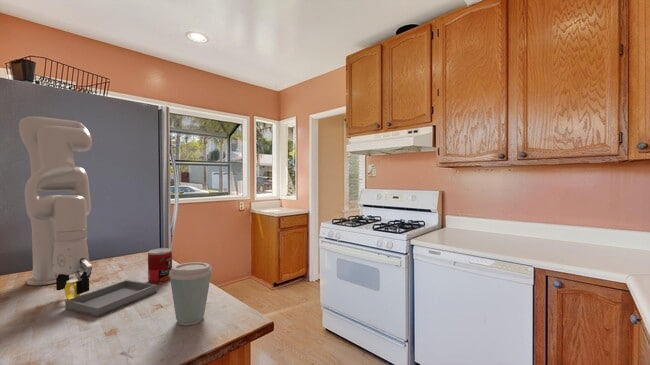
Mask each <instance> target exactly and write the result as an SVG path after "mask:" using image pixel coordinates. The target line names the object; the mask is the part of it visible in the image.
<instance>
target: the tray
mask: <svg viewBox="0 0 650 365" xmlns="http://www.w3.org/2000/svg"><path fill="white" fill-rule="evenodd" d="M157 289H158V288H157V284H155V283H148V282H142V281H137V280H131V279H125V280H122V281H119V282H115V283H113V284H109V285H107V286H105V287H101V288H98V289H96V290H93V291H88V292H86V293H84V294H80V296H78V297H75V298H72V299H69V300H68V299H66V300H65V302H64V303H65V305H64V306H65V307H64V308H65V310H66V311H67V310H68V311H71V312H75V313H78V314H83V315H86V316H90V317H93V318H94V317H95V318H101V317H102V316H103V317H104V316H105V315H106V314H109V313H112V312H114V311H116V310H119V309H122V308H125V307H126V306H128V305H131V304H133V303H136V302H138V301H140V300H142V299H145V298H146V297H149V296H151V295H153V294H156V293H158V291H157Z"/></svg>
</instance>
